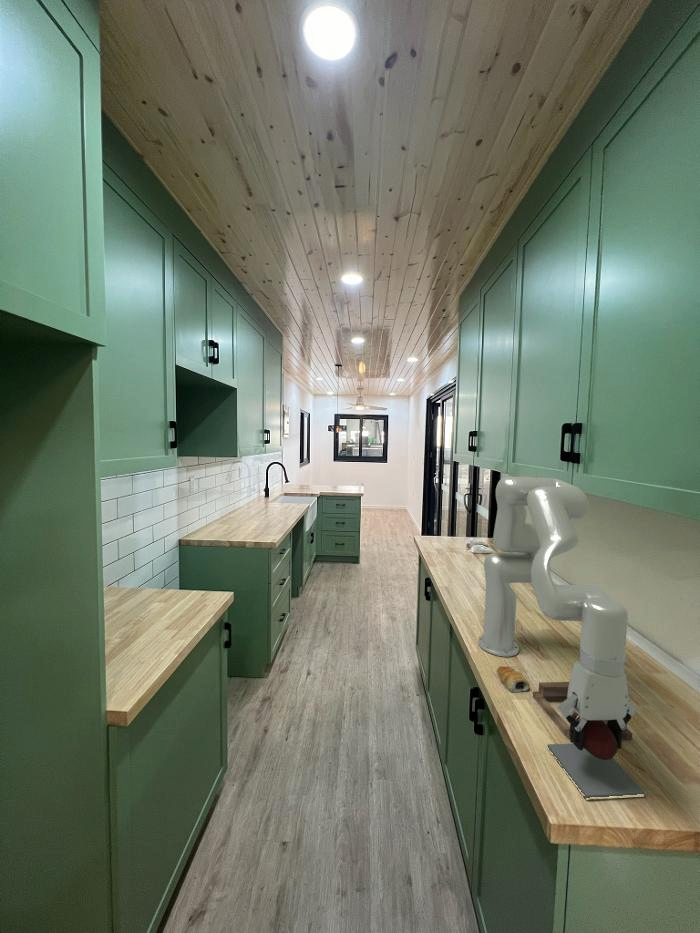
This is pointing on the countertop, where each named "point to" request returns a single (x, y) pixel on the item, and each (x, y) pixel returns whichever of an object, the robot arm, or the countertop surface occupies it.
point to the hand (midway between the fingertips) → (594, 743)
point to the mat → (594, 772)
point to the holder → (557, 694)
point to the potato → (599, 739)
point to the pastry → (512, 679)
